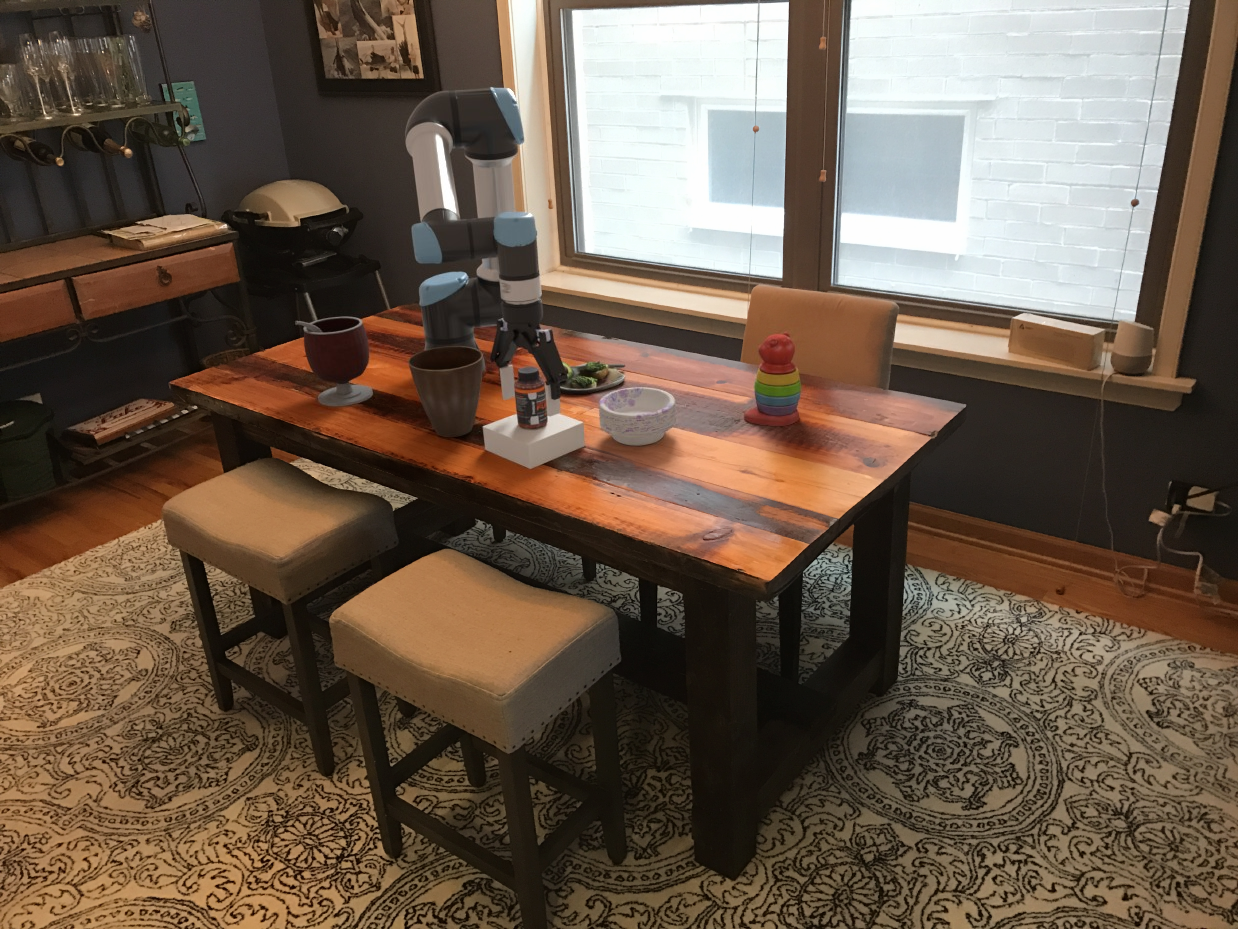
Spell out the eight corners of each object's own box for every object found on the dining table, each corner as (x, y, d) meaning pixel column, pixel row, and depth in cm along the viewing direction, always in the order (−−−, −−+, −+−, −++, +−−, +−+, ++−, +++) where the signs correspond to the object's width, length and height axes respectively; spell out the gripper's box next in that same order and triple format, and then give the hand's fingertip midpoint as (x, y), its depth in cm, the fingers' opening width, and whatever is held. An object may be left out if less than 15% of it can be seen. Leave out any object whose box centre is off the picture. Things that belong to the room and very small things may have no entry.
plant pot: (500, 418, 210) (492, 346, 203) (477, 446, 197) (468, 370, 190) (434, 415, 213) (424, 345, 206) (407, 443, 200) (396, 369, 193)
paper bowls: (655, 457, 188) (653, 419, 185) (586, 445, 195) (584, 407, 192) (689, 428, 200) (688, 392, 197) (623, 418, 207) (621, 382, 204)
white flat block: (485, 449, 195) (482, 426, 193) (539, 428, 204) (537, 405, 202) (530, 469, 186) (528, 444, 184) (585, 445, 194) (583, 422, 192)
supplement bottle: (543, 430, 189) (538, 375, 185) (514, 429, 191) (508, 374, 186) (551, 418, 195) (547, 364, 190) (522, 418, 196) (517, 364, 191)
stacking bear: (771, 404, 210) (773, 323, 202) (811, 415, 203) (814, 332, 196) (739, 419, 203) (739, 336, 195) (779, 431, 196) (781, 346, 189)
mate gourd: (356, 381, 236) (342, 300, 227) (388, 394, 227) (374, 310, 218) (297, 400, 226) (280, 315, 218) (327, 414, 217) (311, 326, 209)
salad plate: (610, 362, 241) (609, 344, 239) (644, 383, 226) (643, 364, 224) (537, 377, 233) (535, 359, 231) (566, 400, 219) (565, 381, 217)
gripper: (464, 292, 188) (476, 396, 197) (550, 315, 172) (559, 427, 180) (495, 284, 193) (506, 386, 202) (581, 305, 176) (589, 415, 185)
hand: (531, 406), depth 191 cm, fingers open, 13 cm apart
